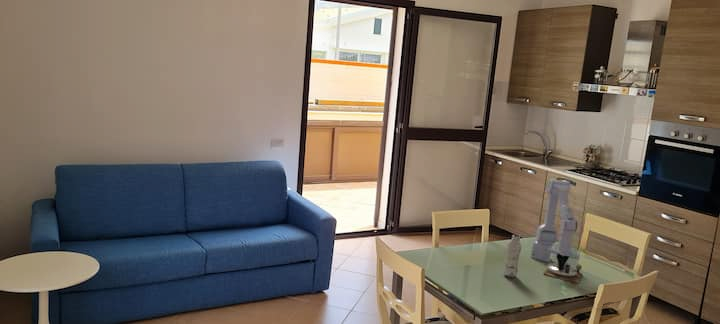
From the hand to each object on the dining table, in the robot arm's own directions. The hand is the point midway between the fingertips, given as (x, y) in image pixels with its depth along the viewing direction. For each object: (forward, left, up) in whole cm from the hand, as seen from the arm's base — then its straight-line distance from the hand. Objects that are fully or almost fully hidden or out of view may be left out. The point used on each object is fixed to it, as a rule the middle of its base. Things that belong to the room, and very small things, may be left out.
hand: (560, 269), depth 270 cm
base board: (+1, +5, -4) cm, 6 cm away
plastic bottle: (-20, -18, -4) cm, 27 cm away
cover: (0, +6, -1) cm, 6 cm away
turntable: (0, +6, -4) cm, 7 cm away
